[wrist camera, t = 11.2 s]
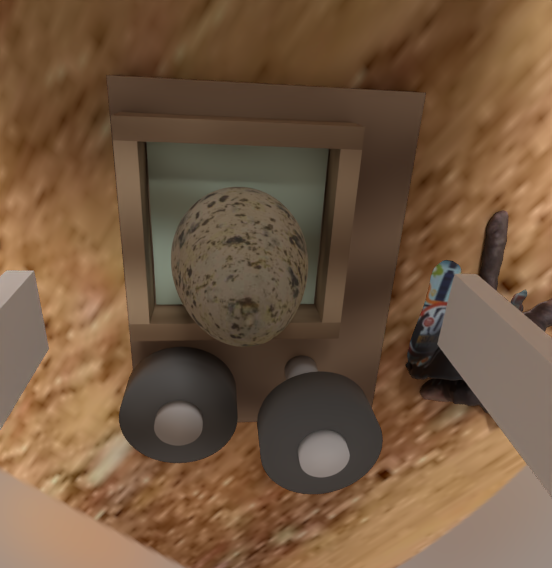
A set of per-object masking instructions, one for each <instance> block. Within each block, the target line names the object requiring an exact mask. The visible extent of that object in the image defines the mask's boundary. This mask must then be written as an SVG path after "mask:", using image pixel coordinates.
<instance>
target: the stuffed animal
mask: <svg viewBox="0 0 552 568" xmlns="http://www.w3.org/2000/svg"><path fill="white" fill-rule="evenodd" d="M507 228H508V213H507V212H506V211H500V212H497V213H495V214H494V215H493V217H492V218H491V220H490V222H489V224H488V226H487V228H486V238H485V245H484V249H483V252H482V265H481V269H480V277H481V278H482V279H483V280H484V281H485V282H487V283H488V284H489V285H490V286H491V287H492V288H494V289H495V290H496V291H497V285H498V275H499V272H500V267H501V264H502V261H503V254H504V249H505V245H506V242H507ZM454 274H461V268H460V266H459V265H458V264H456V263H455V262H453V261H449V260H444V261H442V262H441V263H439V264H438V265H437V266H436V267H435V268H434V269H433V272H432V275H431V279H430V284H429V288H428V293H427V296H426V301H425V303H424V307H423V310H422V312H421V314H420V317H419V319H418V322H417V324H416V327H415V329H414V332H413V335H412V338H411V341H410V345H409V349H408V355H407V357H408V363H406V367H407V368H408V371H409V374H410V375H411V377H412V378H415V379H426V378H428V377H430V378H432V379H430V380H429V381H427V382H426V383H425V384H424V385H423V386H422V388H421V391H420V394H421V396H422V397H423V398H424V399H428V400H435V401H443V402H449V401H450V402H453V403H454V404H465V405H468V406H476V405H479V406H480V407H482V408H483V410H484V412H486V413H488V411H487V410H486V409H485V407H484V406H483V405H482V403H481V402H480V401H479V399H478V398H477V397H476V395H475V394H474V393H473V391H472V390H471V389H470V387H469V386H468V385H467V383H466V382H465V381H464V379H463V378H462V377H461V375H460V374H459V373H458V371H457V370H456V369H455V367H454V366H453V365H452V363H451V362H450V361H449V359H448V358H447V357H446V355H445V354H444V353H443V351H442V350H441V349H440V347H439V346H438V345H437V343H438V339H439V335H440V331H441V327H442V323H443V319H444V315H445V311H446V307H447V303H448V299H449V295H450V290H451V286H452V282H453V278H454ZM526 296H527V291H526V290H523V291H522V292H520V293H517V294H515V295H514V296H513V298H512V300H511V304H512V305H514V306H515V307H516V308H517V309H518V310H520V311H521V312H522V311H523V305H522V302H523V300H524V299H525V298H526ZM523 314H524V315H525V316H527V317H528V318H529V319H530V320H531V321H532V322H534V323H535V324H536V325H537V326H538V327H539V328H541V329H542V330H543V331H544V332H545V330H546V328H547V327H549V326H552V298H551V299H550V300H549V301H546V302H542V303H540V304H538V305H536V306H535V307H534V308H533V309H531V310H530V311H527V312H524V313H523Z"/></svg>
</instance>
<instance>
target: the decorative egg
mask: <svg viewBox="0 0 552 568" xmlns="http://www.w3.org/2000/svg"><path fill="white" fill-rule="evenodd" d="M171 269H172V276H173V280H174V284H175V287H176V290H177V293H178V295H179V298H180V300H181V302H182V304H183V305H184V307H185V309H186V310H187V312H188V313H189V314H190V316H191V317H192V319H193V320H194V321H195V322H196V323H197V325H198V326H199V327H200V328H201V329H202V330H204V331H205V332H206V333H207V334H209V335H210V336H212V337H213V338H215V339H217V340H219V341H221V342H223V343H226V344H229V345H233V346H238V347H251V346H257V345H260V344H263V343H265V342H268V341H269V340H271V339H273V338H274V337H276V336H277V335H278V334H280V333H281V332H282V331H283V330H284V329H285V328H286V327H287V325H288V324H289V323H290V322H291V320H292V319H293V317H294V315H295V314H296V312H297V310H298V308H299V305H300V303H301V301H302V298H303V295H304V291H305V288H306V283H307V276H308V254H307V247H306V243H305V239H304V236H303V233H302V231H301V228H300V226H299V224H298V223H297V221H296V219H295V218H294V216H293V215H292V214H291V212H290V211H289V210H288V209H287V208H286V207H285V206H284V205H283V204H282V203H281V202H280V201H278V200H277V199H276V198H274V197H272V196H271V195H269V194H267V193H265V192H262V191H260V190H257V189H253V188H248V187H228V188H223V189H219V190H216V191H213V192H211V193H209V194H207V195H205V196H204V197H202V198H201V199H199V200H198V201H197V202H195V203H194V204H193V205H192V206H191V207H190V208H189V209H188V211H187V212H186V213H185V215H184V216H183V218H182V219H181V221H180V223H179V225H178V227H177V229H176V232H175V235H174V238H173V243H172V249H171Z"/></svg>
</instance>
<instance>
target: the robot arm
mask: <svg viewBox="0 0 552 568" xmlns="http://www.w3.org/2000/svg"><path fill="white" fill-rule="evenodd" d="M437 345H438V346H439V347H440V349H441V350H442V351H443V353H444V354H445V355H446V357H447V358H448V359H449V361H450V362H451V363H452V365H453V366H454V367H455V369H456V370H457V371H458V373H459V374H460V375H461V377H462V378H463V379H464V381H465V382H466V383H467V385H468V386H469V387H470V389H471V390H472V391H473V393H474V394H475V395H476V397H477V398H478V399H479V401H480V402H481V403H482V405H483V406H484V407H485V409H486V410H487V411H488V413H489V414H490V415H491V417H492V418H493V419H494V421H495V422H496V423H497V425H498V426H499V427H500V429H501V430H502V431H503V433H504V434H505V435H506V437H507V438H508V439H509V441H510V442H511V443H512V445H513V446H514V448H515V449H516V450H517V452H518V453H519V454H520V456H521V457H522V458H523V460H524V461H525V462H526V464H527V465H528V466H529V468H530V469H531V470H532V471H533V472H534V474H535V476H536V477H537V478H538V479H539V481H540V482H541V484H542V485H543V486H544V488H545V489H546V490H547V492H548V493H549V494H550V495H551V497H552V338H551V337H550V336H549V335H548V334H547V333H545V332H544V331H543V330H542V329H541V328H539V327H538V326H537V325H536V324H535V323H534V322H532V321H531V320H530V319H529V318H528V317H527V316H525V315H524V314H523V313H522V312H521V311H520V310H518V309H517V308H516V307H515V306H514V305H512V304H511V303H510V302H509V301H508V300H507V299H505V298H504V297H503V296H502V295H501V294H500V293H498V292H497V291H496V290H495V289H494V288H492V287H491V286H490V285H489V284H488V283H487V282H485V281H484V280H483V279H482V278H481V277H480V276H478V275H477V274H454V278H453V282H452V286H451V290H450V295H449V299H448V303H447V307H446V311H445V315H444V319H443V323H442V327H441V331H440V335H439V339H438V343H437ZM48 349H49V347H48V342H47V336H46V331H45V326H44V320H43V315H42V310H41V305H40V299H39V294H38V289H37V284H36V278H35V273H34V271H17V270H7V271H5V272H4V273H3V274H2V275H1V276H0V430H1V428H2V426H3V425H4V423H5V421H6V420H7V418H8V416H9V415H10V413H11V411H12V409H13V408H14V406H15V404H16V403H17V401H18V399H19V398H20V396H21V394H22V393H23V391H24V389H25V388H26V386H27V384H28V383H29V381H30V379H31V378H32V376H33V374H34V373H35V371H36V369H37V368H38V366H39V364H40V363H41V361H42V359H43V358H44V356H45V354H46V353H47V351H48Z"/></svg>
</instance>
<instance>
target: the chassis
mask: <svg viewBox="0 0 552 568" xmlns="http://www.w3.org/2000/svg"><path fill="white" fill-rule="evenodd" d="M106 76H107V87H108V98H109V110H110V121H111V132H112V143H113V154H114V165H115V176H116V187H117V198H118V209H119V220H120V231H121V243H122V254H123V265H124V276H125V287H126V298H127V309H128V320H129V331H130V342H131V353H132V364H133V371H132V373H131V375H130V377H129V380H128V384H127V387H126V390H125V394H124V397H123V401H122V404H121V407H120V412H119V423H120V427H121V430H122V433H123V435H124V436H125V438H126V440H127V441H128V442H129V443H130V444H131V445H132V446H133V447H134V448H135V449H136V450H138V451H139V452H140V453H142V454H144V455H146V456H148V457H150V458H152V459H155V460H159V461H163V462H170V463H186V462H193V461H197V460H200V459H203V458H206V457H208V456H210V455H212V454H214V453H216V452H217V451H219V450H220V449H221V448H222V447H223V446H225V445H226V443H227V442H228V441H229V440H230V438H231V437H232V435H233V434H234V431H235V429H236V425H237V422H257V418H258V413H259V409H260V407H261V405H262V403H263V401H264V400H265V398H266V397H267V395H268V394H269V393H270V392H271V391H272V390H273V389H274V388H275V387H276V386H278V385H279V384H281V383H282V382H284V381H286V380H287V379H289V378H292V377H294V376H297V375H300V374H303V373H308V372H317V371H324V372H333V373H337V374H340V375H343V376H345V377H348V378H349V379H351V380H353V381H354V382H355V383H356V384H358V385H359V386H360V388H361V389H362V390H363V391H364V393H365V395H366V397H367V399H368V401H369V404H370V406H371V408H372V404H373V398H374V392H375V386H376V380H377V374H378V369H379V363H380V357H381V351H382V345H383V340H384V334H385V328H386V322H387V316H388V311H389V305H390V299H391V293H392V287H393V281H394V276H395V270H396V264H397V258H398V252H399V247H400V241H401V235H402V229H403V223H404V217H405V212H406V206H407V200H408V194H409V188H410V183H411V177H412V171H413V165H414V159H415V154H416V148H417V142H418V136H419V130H420V124H421V119H422V113H423V107H424V101H425V95H426V93H422V92H408V91H390V90H372V89H354V88H335V87H317V86H299V85H281V84H263V83H245V82H226V81H208V80H190V79H172V78H154V77H136V76H118V75H106ZM228 187H248V188H253V189H257V190H260V191H262V192H265V193H267V194H269V195H271V196H272V197H274V198H276V199H277V200H278V201H280V202H281V203H282V204H283V205H284V206H285V207H286V208H287V209H288V210H289V211H290V212H291V214H292V215H293V216H294V218H295V219H296V221H297V223H298V224H299V226H300V228H301V231H302V233H303V236H304V239H305V243H306V247H307V254H308V276H307V283H306V288H305V291H304V295H303V298H302V301H301V303H300V305H299V308H298V310H297V312H296V314H295V315H294V317H293V319H292V320H291V322H290V323H289V324H288V325H287V327H286V328H285V329H284V330H283V331H282V332H281V333H280V334H278V335H277V336H276V337H274V338H273V339H271V340H269V341H268V342H265V343H263V344H260V345H257V346H251V347H238V346H233V345H229V344H226V343H223V342H221V341H219V340H217V339H215V338H213V337H212V336H210V335H209V334H207V333H206V332H205V331H204V330H202V329H201V328H200V327H199V326H198V325H197V323H196V322H195V321H194V320H193V319H192V317H191V316H190V314H189V313H188V312H187V310H186V309H185V307H184V305H183V304H182V302H181V300H180V298H179V295H178V293H177V290H176V287H175V284H174V280H173V276H172V269H171V249H172V243H173V238H174V235H175V232H176V229H177V227H178V225H179V223H180V221H181V219H182V218H183V216H184V215H185V213H186V212H187V211H188V209H189V208H190V207H191V206H192V205H193V204H194V203H195V202H197V201H198V200H199V199H201V198H202V197H204V196H205V195H207V194H209V193H211V192H213V191H216V190H219V189H223V188H228Z"/></svg>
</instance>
